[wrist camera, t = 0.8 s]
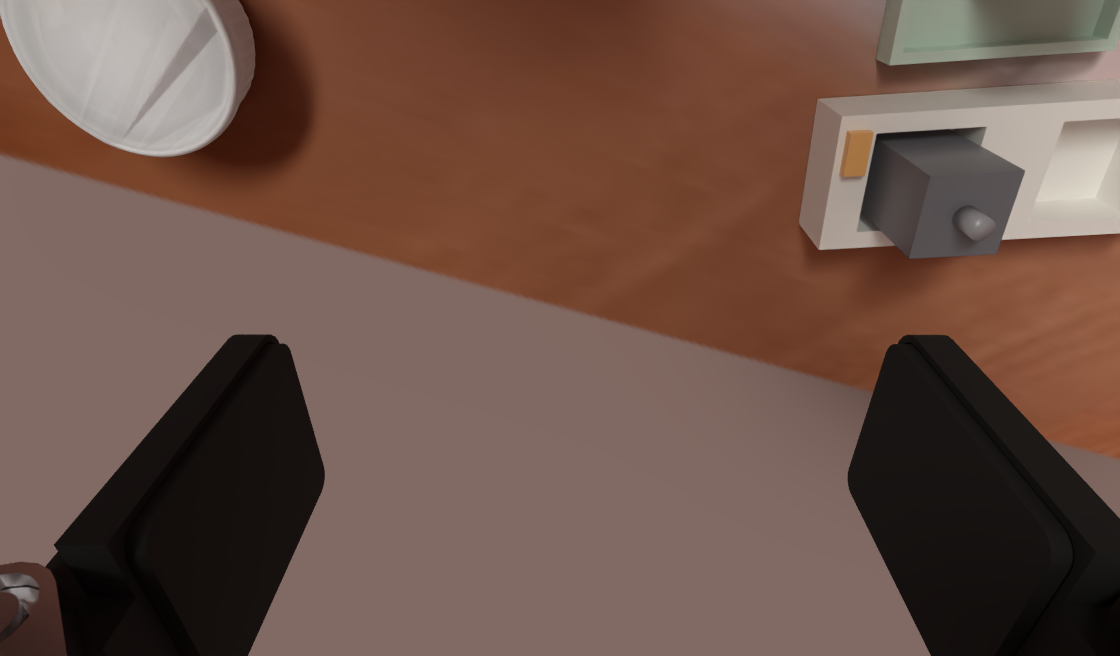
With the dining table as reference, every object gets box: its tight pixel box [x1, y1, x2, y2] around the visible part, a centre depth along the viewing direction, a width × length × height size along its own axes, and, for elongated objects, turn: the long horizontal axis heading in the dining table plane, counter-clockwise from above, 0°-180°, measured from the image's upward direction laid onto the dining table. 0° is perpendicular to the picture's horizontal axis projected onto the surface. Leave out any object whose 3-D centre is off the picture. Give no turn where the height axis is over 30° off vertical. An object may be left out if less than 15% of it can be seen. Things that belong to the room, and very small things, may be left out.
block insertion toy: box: [799, 79, 1120, 259], centre depth 35 cm, size 8×20×11 cm, turn 94°
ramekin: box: [0, 0, 256, 157], centre depth 34 cm, size 11×11×5 cm
